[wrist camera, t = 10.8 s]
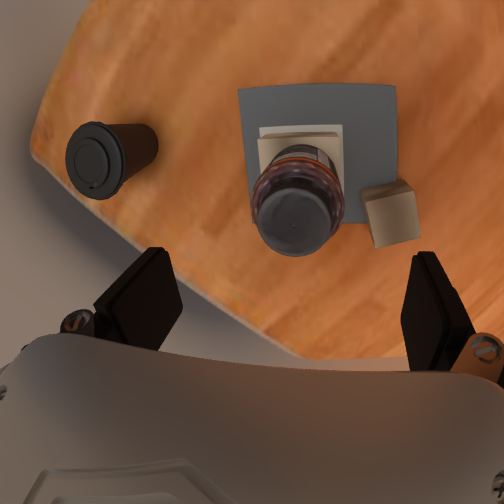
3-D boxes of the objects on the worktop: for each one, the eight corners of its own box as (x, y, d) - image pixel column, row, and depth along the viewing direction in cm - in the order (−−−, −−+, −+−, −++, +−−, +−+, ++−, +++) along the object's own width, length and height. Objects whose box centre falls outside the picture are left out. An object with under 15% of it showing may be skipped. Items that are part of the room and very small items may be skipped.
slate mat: (394, 86, 24) (395, 85, 24) (392, 221, 31) (394, 223, 31) (239, 89, 28) (237, 89, 27) (253, 221, 35) (252, 223, 34)
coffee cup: (137, 188, 36) (88, 219, 27) (103, 140, 34) (49, 159, 25) (181, 151, 33) (134, 172, 24) (143, 99, 30) (88, 105, 22)
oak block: (403, 179, 28) (414, 190, 25) (410, 222, 30) (420, 237, 27) (360, 190, 30) (365, 202, 27) (369, 232, 32) (375, 248, 28)
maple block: (335, 131, 28) (339, 136, 23) (337, 197, 31) (340, 214, 27) (266, 133, 29) (257, 139, 25) (272, 197, 32) (264, 214, 28)
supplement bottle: (330, 212, 27) (336, 282, 17) (266, 202, 28) (235, 265, 18) (342, 148, 24) (359, 182, 14) (272, 137, 25) (241, 164, 15)
